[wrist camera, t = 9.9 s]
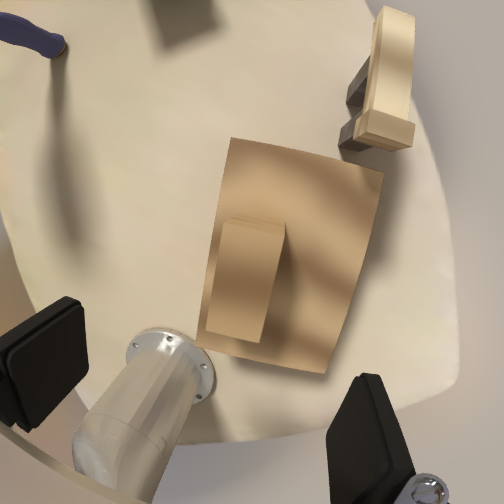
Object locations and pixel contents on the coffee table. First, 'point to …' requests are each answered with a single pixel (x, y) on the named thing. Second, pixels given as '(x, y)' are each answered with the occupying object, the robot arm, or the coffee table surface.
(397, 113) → the pale wooden bar
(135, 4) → the coffee table surface
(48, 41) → the rubber mallet
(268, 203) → the lid
